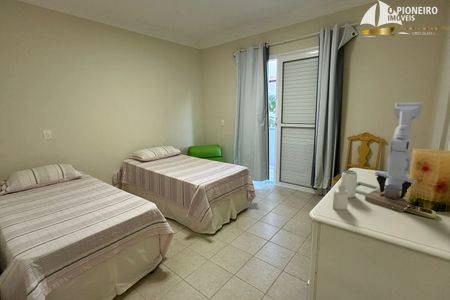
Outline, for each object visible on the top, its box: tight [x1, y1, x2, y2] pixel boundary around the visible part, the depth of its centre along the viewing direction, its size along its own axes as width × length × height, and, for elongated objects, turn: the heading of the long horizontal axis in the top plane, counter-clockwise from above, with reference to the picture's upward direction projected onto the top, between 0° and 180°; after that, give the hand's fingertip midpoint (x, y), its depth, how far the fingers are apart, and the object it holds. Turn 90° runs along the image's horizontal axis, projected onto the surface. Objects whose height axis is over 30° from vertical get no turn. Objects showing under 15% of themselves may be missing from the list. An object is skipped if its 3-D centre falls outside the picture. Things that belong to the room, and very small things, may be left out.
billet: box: [384, 184, 401, 201], centre depth 94 cm, size 5×4×7 cm
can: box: [340, 169, 358, 199], centre depth 101 cm, size 6×6×12 cm
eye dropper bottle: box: [332, 181, 349, 211], centre depth 88 cm, size 4×6×12 cm
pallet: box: [364, 189, 410, 213], centre depth 95 cm, size 18×14×2 cm
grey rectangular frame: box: [355, 180, 380, 196], centre depth 108 cm, size 14×11×1 cm
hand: (391, 194), depth 95 cm, fingers open, 7 cm apart
